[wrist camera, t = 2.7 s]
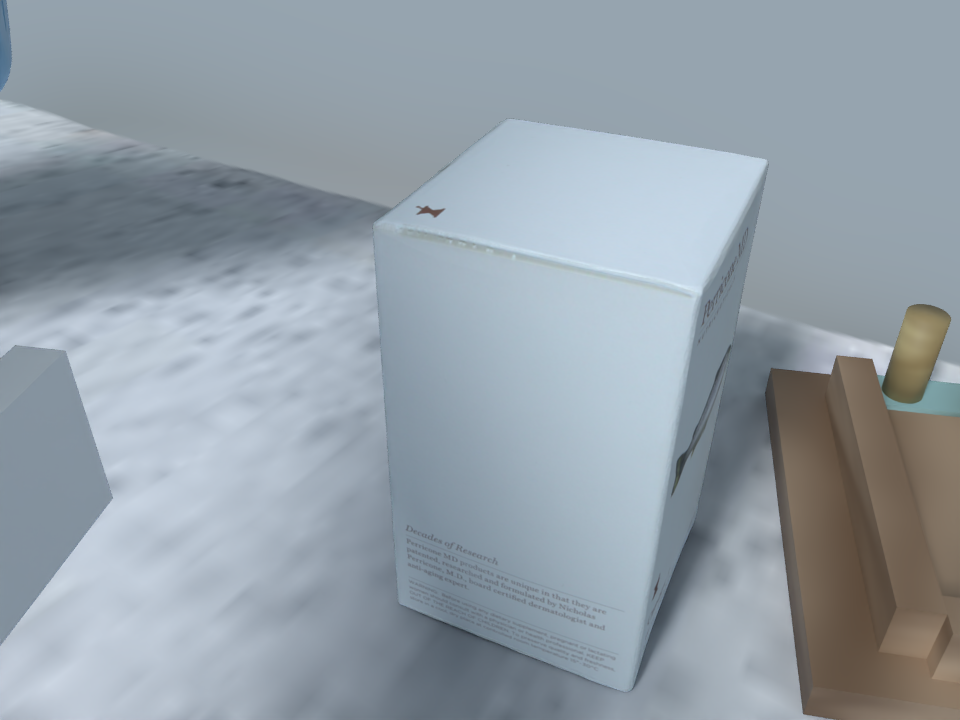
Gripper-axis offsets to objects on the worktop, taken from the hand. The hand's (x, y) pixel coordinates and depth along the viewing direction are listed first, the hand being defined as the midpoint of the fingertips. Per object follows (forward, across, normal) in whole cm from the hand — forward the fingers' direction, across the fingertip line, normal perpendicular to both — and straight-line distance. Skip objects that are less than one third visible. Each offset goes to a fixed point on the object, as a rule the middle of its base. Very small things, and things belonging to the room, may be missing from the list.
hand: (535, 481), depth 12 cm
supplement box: (+10, 0, -13) cm, 17 cm away
